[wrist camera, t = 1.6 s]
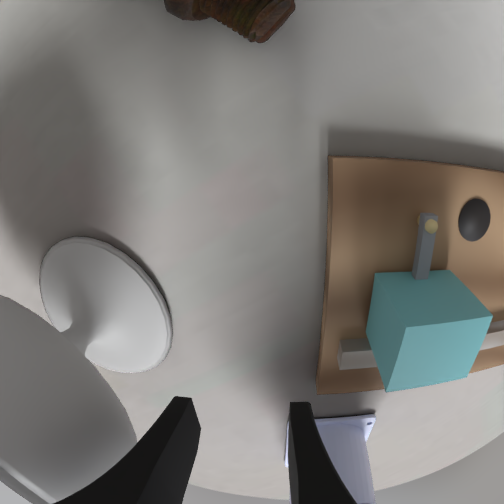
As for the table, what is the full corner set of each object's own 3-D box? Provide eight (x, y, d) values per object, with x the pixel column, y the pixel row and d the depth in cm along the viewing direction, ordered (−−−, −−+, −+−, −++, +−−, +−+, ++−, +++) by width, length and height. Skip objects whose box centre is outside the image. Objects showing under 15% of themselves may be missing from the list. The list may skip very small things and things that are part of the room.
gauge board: (533, 343, 19) (545, 358, 16) (315, 380, 21) (318, 407, 19) (576, 188, 13) (596, 196, 10) (328, 155, 15) (337, 160, 12)
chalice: (224, 299, 19) (151, 544, 5) (147, 399, 24) (91, 537, 10) (55, 184, 17) (-132, 281, 3) (27, 314, 22) (-66, 417, 8)
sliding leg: (435, 325, 16) (466, 377, 12) (365, 331, 17) (385, 392, 12) (459, 212, 14) (513, 245, 9) (381, 209, 14) (422, 246, 9)
